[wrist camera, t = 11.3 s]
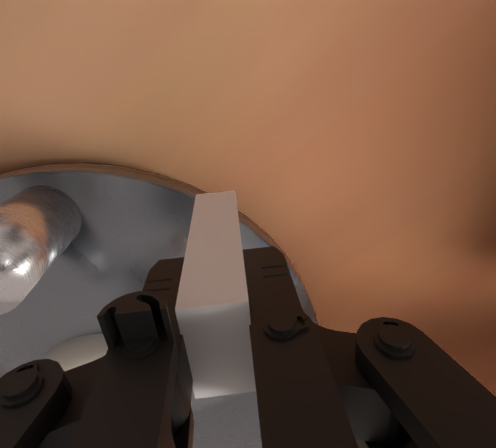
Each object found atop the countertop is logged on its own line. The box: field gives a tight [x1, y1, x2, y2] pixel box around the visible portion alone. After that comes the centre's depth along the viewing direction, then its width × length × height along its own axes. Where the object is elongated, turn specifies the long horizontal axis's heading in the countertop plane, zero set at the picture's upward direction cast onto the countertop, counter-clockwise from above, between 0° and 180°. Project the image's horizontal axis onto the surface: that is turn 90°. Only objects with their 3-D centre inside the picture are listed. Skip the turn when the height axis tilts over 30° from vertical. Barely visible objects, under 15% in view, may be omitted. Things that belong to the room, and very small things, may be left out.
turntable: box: [0, 163, 318, 448], centre depth 19 cm, size 26×26×7 cm
